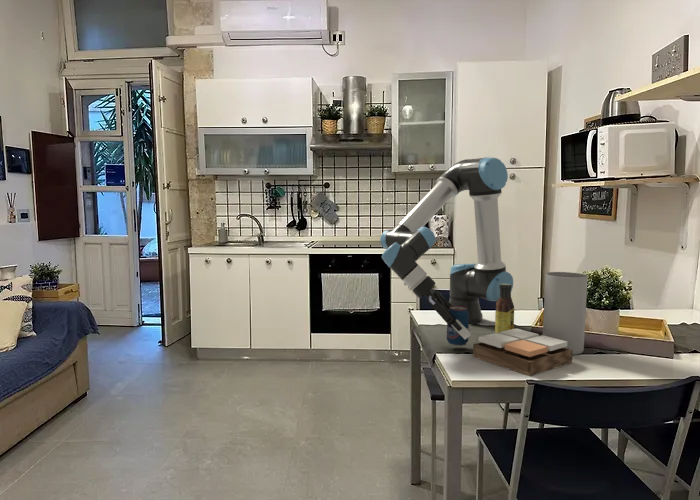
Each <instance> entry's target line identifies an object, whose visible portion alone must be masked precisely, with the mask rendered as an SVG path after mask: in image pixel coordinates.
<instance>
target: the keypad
mask: <svg viewBox="0 0 700 500" xmlns="http://www.w3.org/2000/svg"><path fill="white" fill-rule="evenodd" d="M572 351H573V350H571V349H567V348H560V349H556V350H553V351H548V352H546V353H542V354H538V355H535V356H531V357H528V356H525V355H521V354H518V353H515V352H512V351H508V350H505V347H504V348H498V347H495V346H492V345H489V344H485V343H482V342H478V343H477V342H476V343H473V347H472V357H473V358H476V359H479V360H482V361H485V362H487V363H491V364H492V365H495V366H499V367H502V368H504V367H505V369H507V368H508V370H511V371H514V372H517V373H520V374H521V375H525V376H528V377H531V376H534V375H537V374H541V373H544V372H547V371H550V370H554V369H556V368H561V367H563V366H566V365H569V364H572V363H573V355H572Z"/></svg>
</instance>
